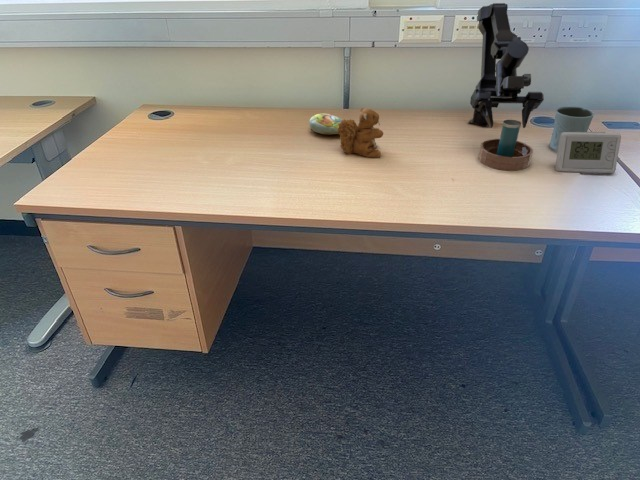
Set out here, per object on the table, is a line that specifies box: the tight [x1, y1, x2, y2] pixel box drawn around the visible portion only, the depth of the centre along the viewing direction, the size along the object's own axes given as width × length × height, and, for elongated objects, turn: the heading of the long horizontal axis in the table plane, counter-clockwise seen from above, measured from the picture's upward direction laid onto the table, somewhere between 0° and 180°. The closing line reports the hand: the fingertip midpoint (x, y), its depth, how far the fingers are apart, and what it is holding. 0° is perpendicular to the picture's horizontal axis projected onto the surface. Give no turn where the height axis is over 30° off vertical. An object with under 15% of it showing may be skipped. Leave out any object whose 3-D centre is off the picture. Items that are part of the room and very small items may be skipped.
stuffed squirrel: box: [337, 108, 384, 158], centre depth 140 cm, size 10×14×13 cm
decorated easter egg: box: [308, 113, 343, 136], centre depth 157 cm, size 11×8×15 cm
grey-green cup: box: [549, 105, 595, 152], centre depth 139 cm, size 10×10×12 cm
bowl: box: [478, 138, 534, 172], centre depth 134 cm, size 14×14×4 cm
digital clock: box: [554, 131, 622, 175], centre depth 127 cm, size 16×9×11 cm, turn 73°
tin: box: [497, 119, 522, 157], centre depth 132 cm, size 5×5×12 cm
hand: (508, 127), depth 132 cm, fingers open, 9 cm apart
